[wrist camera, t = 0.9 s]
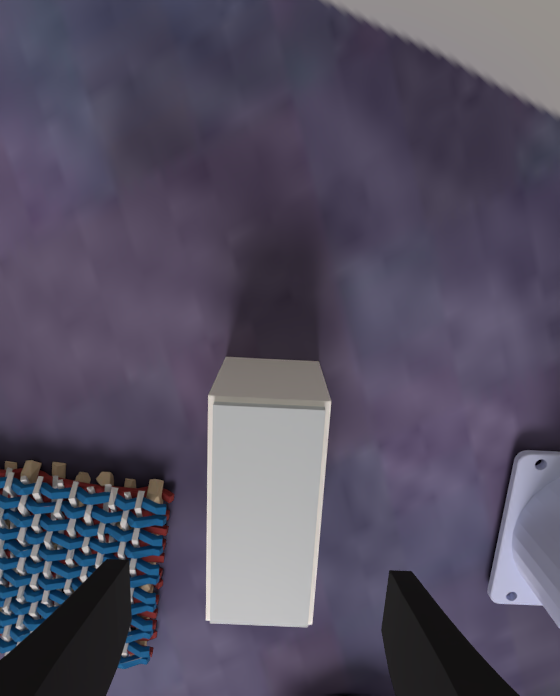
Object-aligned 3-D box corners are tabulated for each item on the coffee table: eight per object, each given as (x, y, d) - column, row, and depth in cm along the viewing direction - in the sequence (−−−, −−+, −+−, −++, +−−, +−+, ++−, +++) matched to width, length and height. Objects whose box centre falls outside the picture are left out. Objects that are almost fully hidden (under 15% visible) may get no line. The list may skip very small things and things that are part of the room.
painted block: (318, 360, 19) (332, 404, 14) (304, 538, 21) (312, 631, 16) (226, 355, 19) (206, 398, 14) (222, 534, 21) (204, 627, 16)
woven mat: (-48, 437, 20) (-84, 459, 18) (180, 471, 20) (169, 496, 18) (-44, 618, 22) (-76, 655, 20) (158, 645, 23) (147, 683, 21)
